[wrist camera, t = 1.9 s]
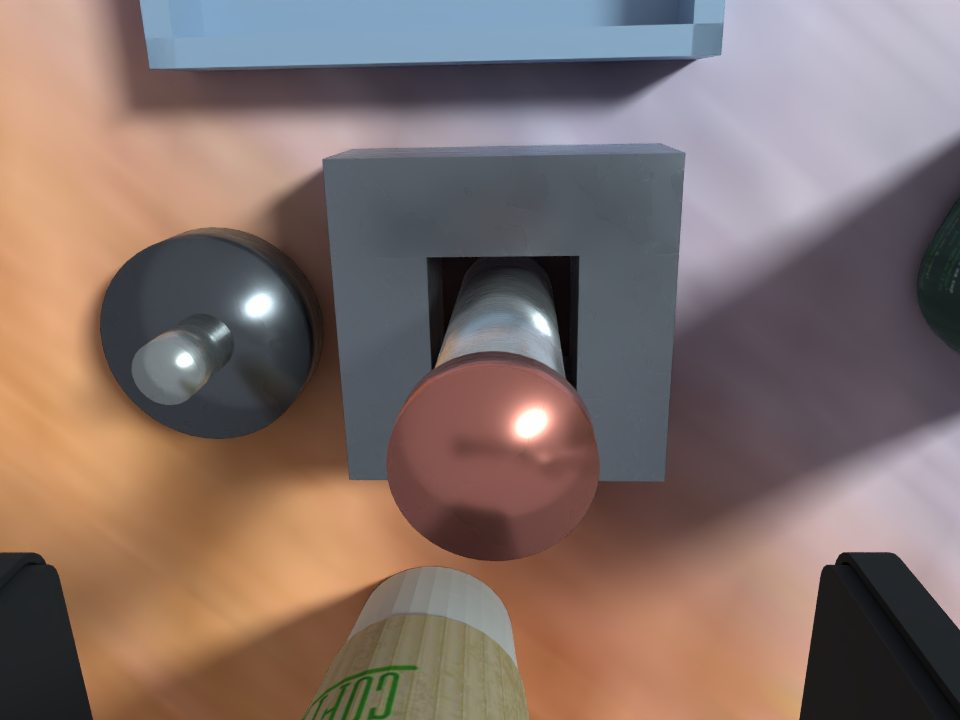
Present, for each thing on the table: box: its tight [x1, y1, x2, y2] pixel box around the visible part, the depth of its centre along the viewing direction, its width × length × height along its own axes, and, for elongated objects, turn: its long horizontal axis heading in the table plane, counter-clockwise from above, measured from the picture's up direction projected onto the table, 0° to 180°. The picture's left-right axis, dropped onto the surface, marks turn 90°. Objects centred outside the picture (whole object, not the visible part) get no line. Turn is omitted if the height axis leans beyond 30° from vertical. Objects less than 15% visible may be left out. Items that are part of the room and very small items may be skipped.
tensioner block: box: [322, 144, 685, 482], centre depth 25 cm, size 10×10×4 cm
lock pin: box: [386, 256, 600, 561], centre depth 21 cm, size 4×4×13 cm
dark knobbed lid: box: [100, 227, 323, 439], centre depth 25 cm, size 7×7×5 cm
